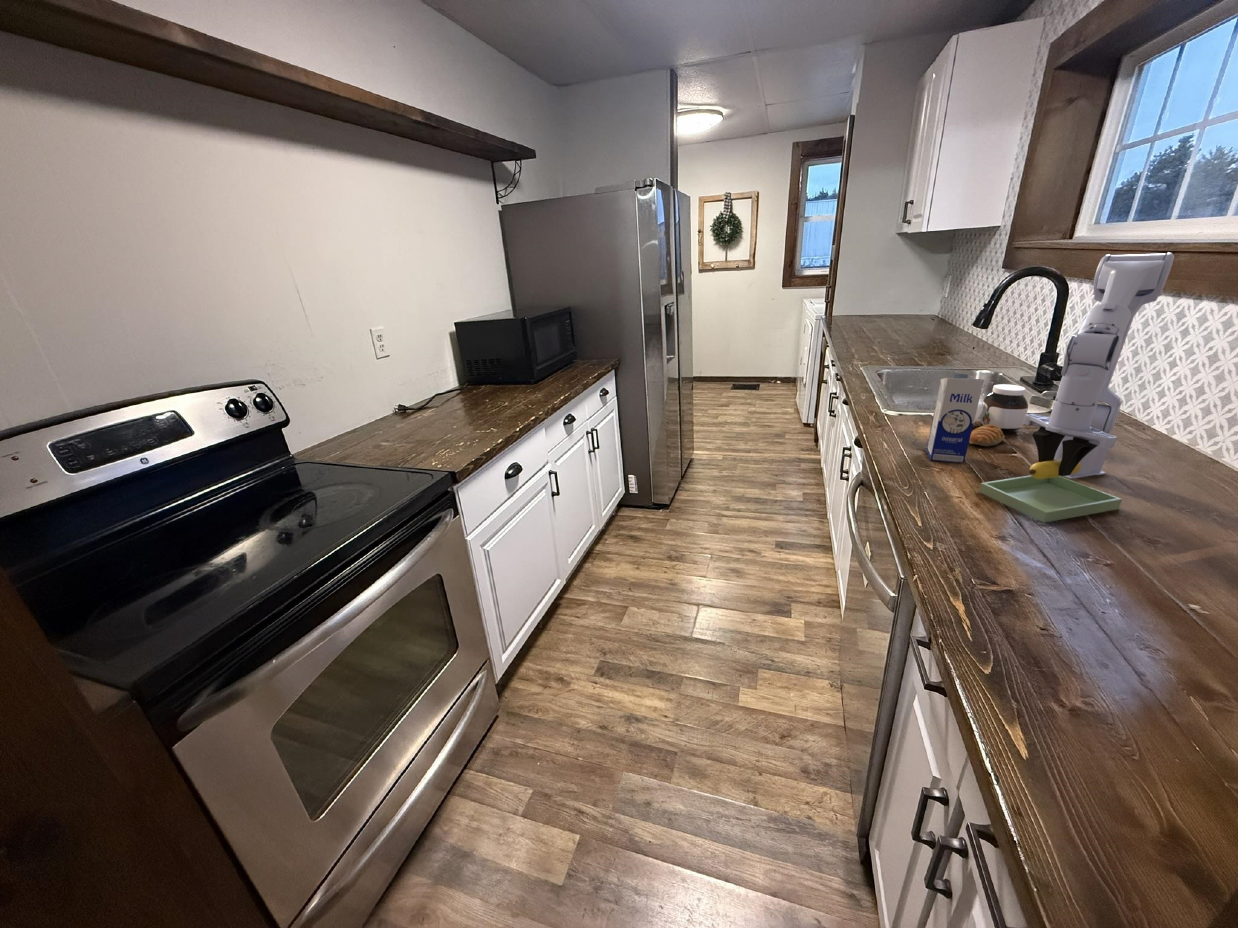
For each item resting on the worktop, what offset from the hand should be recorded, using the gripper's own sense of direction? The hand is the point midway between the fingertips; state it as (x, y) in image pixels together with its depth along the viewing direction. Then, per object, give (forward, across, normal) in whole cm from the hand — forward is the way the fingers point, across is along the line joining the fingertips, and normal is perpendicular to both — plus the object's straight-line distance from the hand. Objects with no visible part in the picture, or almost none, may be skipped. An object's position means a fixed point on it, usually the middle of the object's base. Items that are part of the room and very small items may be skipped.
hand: (1053, 471), depth 94 cm
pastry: (+7, -30, +18) cm, 35 cm away
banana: (+1, 0, 0) cm, 1 cm away
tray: (+7, 0, 0) cm, 7 cm away
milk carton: (+7, -25, +1) cm, 26 cm away
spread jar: (+7, -38, +28) cm, 48 cm away
